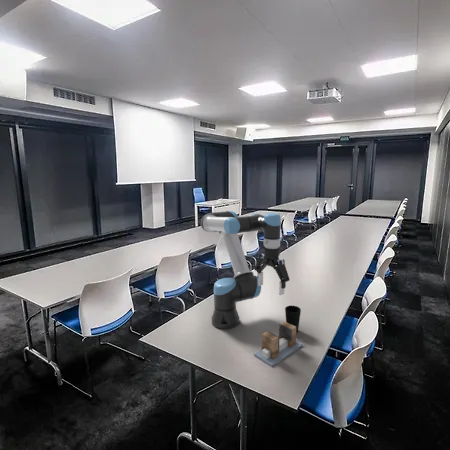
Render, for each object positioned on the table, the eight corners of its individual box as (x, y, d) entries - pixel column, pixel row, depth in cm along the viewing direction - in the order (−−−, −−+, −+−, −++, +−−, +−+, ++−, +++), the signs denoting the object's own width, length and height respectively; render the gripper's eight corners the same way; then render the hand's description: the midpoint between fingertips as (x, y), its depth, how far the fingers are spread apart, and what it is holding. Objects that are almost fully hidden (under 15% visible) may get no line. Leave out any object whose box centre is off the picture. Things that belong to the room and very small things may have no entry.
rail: (254, 355, 129) (254, 347, 129) (285, 336, 143) (285, 329, 143) (271, 366, 122) (271, 358, 121) (302, 345, 136) (302, 337, 135)
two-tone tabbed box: (261, 352, 130) (261, 334, 128) (267, 348, 132) (267, 330, 131) (273, 359, 125) (273, 340, 123) (279, 355, 127) (279, 336, 126)
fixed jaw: (295, 344, 135) (296, 326, 133) (290, 348, 132) (290, 330, 131) (284, 338, 140) (284, 321, 138) (279, 342, 137) (279, 324, 136)
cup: (282, 332, 148) (282, 310, 145) (288, 325, 154) (288, 304, 152) (297, 336, 143) (297, 313, 141) (302, 329, 150) (302, 307, 147)
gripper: (247, 242, 143) (247, 283, 147) (287, 254, 124) (285, 301, 128) (258, 240, 147) (257, 279, 152) (298, 251, 128) (296, 296, 133)
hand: (270, 289), depth 140 cm, fingers open, 13 cm apart
